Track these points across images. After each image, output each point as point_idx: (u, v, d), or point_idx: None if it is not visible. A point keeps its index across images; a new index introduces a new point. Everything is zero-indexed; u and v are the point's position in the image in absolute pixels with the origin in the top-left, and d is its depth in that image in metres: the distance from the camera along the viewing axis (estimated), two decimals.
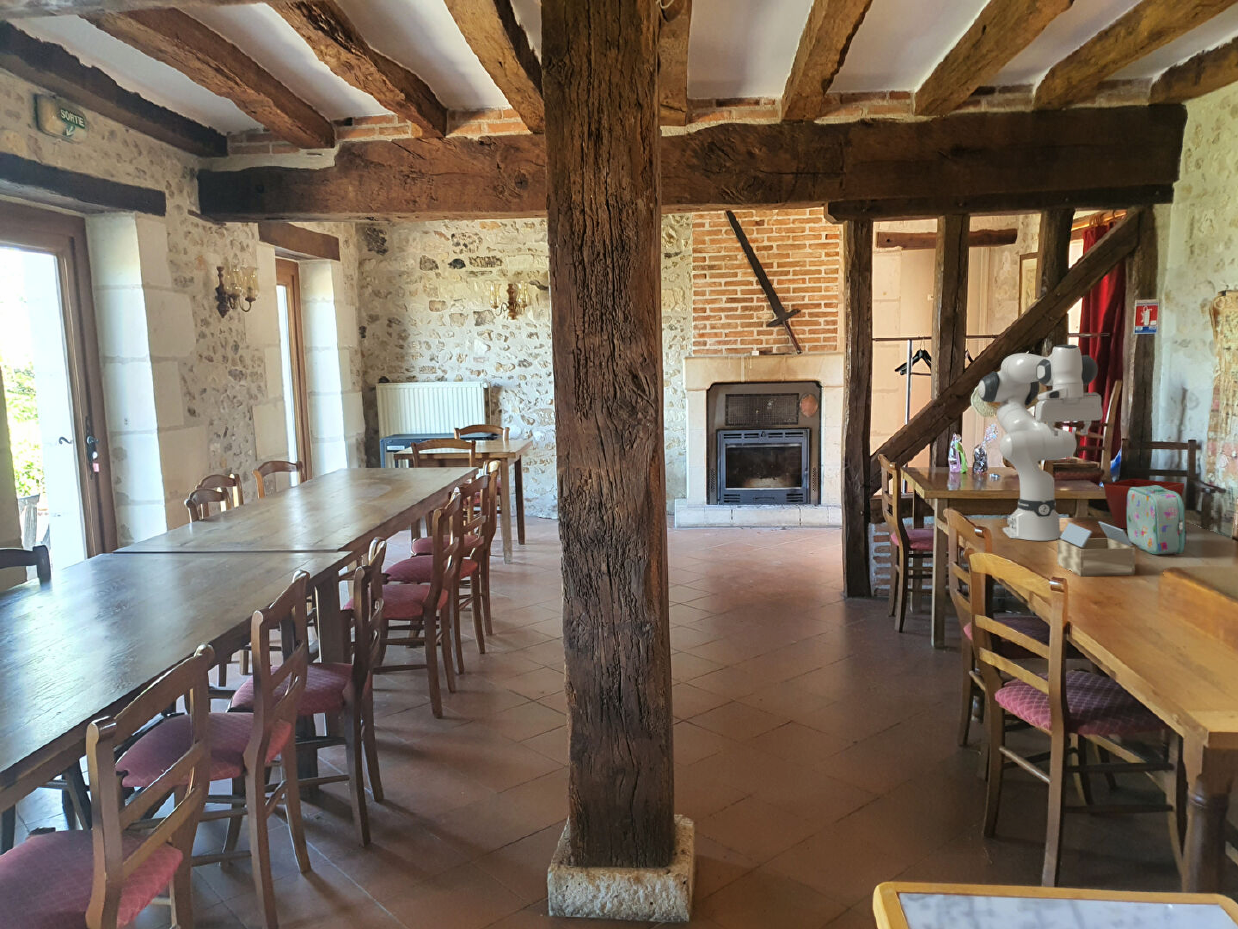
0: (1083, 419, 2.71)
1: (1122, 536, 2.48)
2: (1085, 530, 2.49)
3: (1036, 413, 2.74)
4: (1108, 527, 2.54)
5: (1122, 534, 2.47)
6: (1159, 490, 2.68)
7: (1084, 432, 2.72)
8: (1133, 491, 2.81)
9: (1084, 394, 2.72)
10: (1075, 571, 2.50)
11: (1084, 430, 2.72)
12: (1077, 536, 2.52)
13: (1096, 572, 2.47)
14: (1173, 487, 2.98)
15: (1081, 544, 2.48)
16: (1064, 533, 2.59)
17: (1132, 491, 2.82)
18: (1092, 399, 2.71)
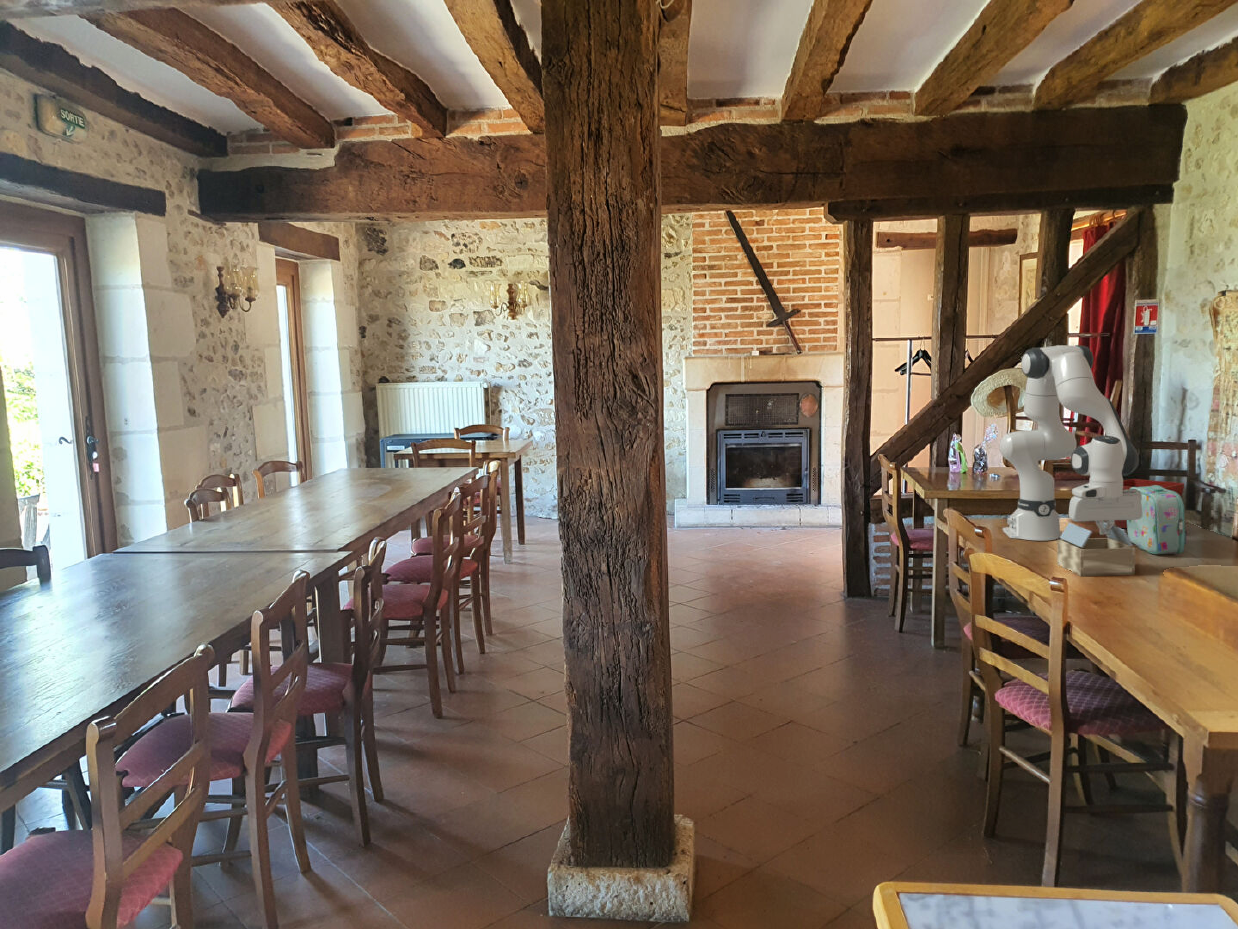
0: (1121, 519, 2.50)
1: (1123, 536, 2.48)
2: (1085, 530, 2.49)
3: (1070, 510, 2.54)
4: None
5: (1123, 534, 2.47)
6: (1159, 490, 2.68)
7: (1106, 532, 2.52)
8: None
9: (1123, 491, 2.50)
10: (1075, 571, 2.50)
11: (1106, 530, 2.52)
12: (1077, 536, 2.52)
13: (1096, 572, 2.47)
14: (1173, 487, 2.98)
15: (1081, 544, 2.48)
16: (1064, 533, 2.59)
17: None
18: (1132, 497, 2.49)
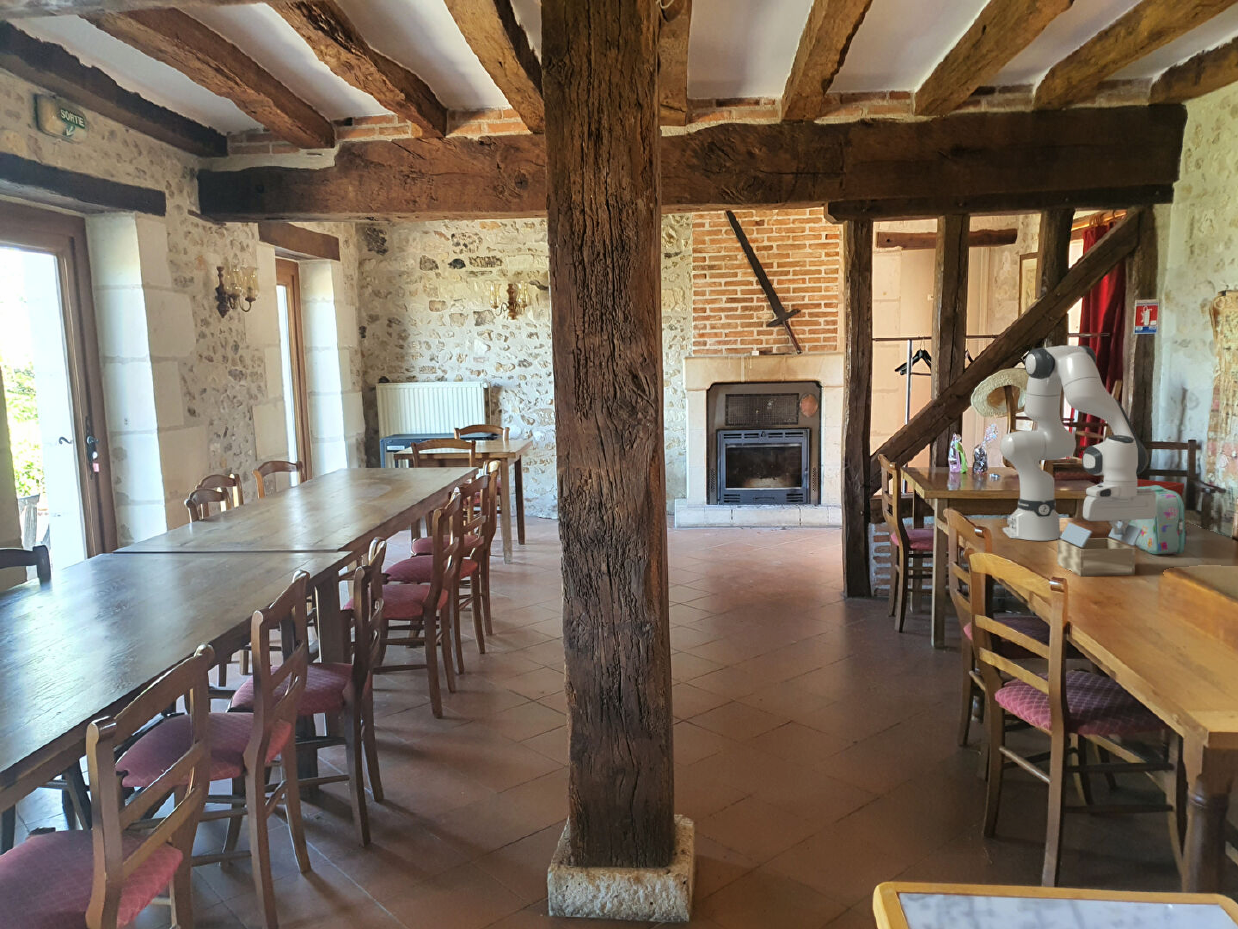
0: (1135, 518, 2.50)
1: (1133, 534, 2.48)
2: (1085, 530, 2.49)
3: (1084, 509, 2.53)
4: None
5: (1136, 532, 2.47)
6: (1159, 490, 2.68)
7: (1121, 532, 2.51)
8: None
9: (1138, 491, 2.50)
10: (1075, 571, 2.50)
11: (1121, 530, 2.51)
12: (1077, 536, 2.52)
13: (1096, 572, 2.47)
14: (1173, 487, 2.98)
15: (1081, 544, 2.48)
16: (1064, 533, 2.59)
17: None
18: (1146, 497, 2.49)
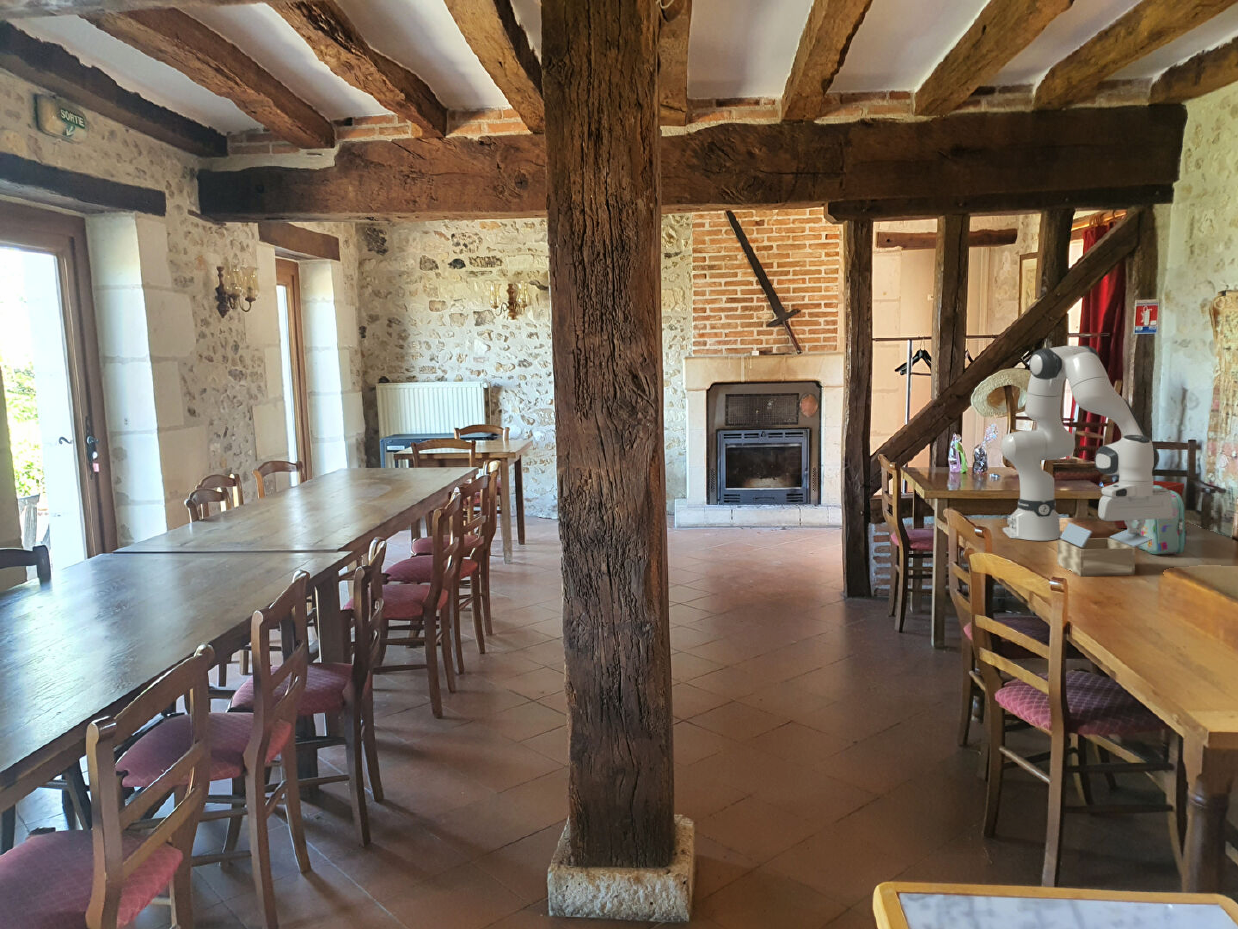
0: (1151, 518, 2.50)
1: (1140, 540, 2.48)
2: (1085, 530, 2.49)
3: (1099, 509, 2.53)
4: (1134, 534, 2.54)
5: (1144, 540, 2.47)
6: None
7: (1137, 532, 2.51)
8: None
9: (1153, 490, 2.50)
10: (1075, 571, 2.50)
11: (1137, 530, 2.51)
12: (1077, 536, 2.52)
13: (1096, 572, 2.47)
14: (1173, 487, 2.98)
15: (1081, 544, 2.48)
16: (1064, 533, 2.59)
17: None
18: (1162, 497, 2.49)
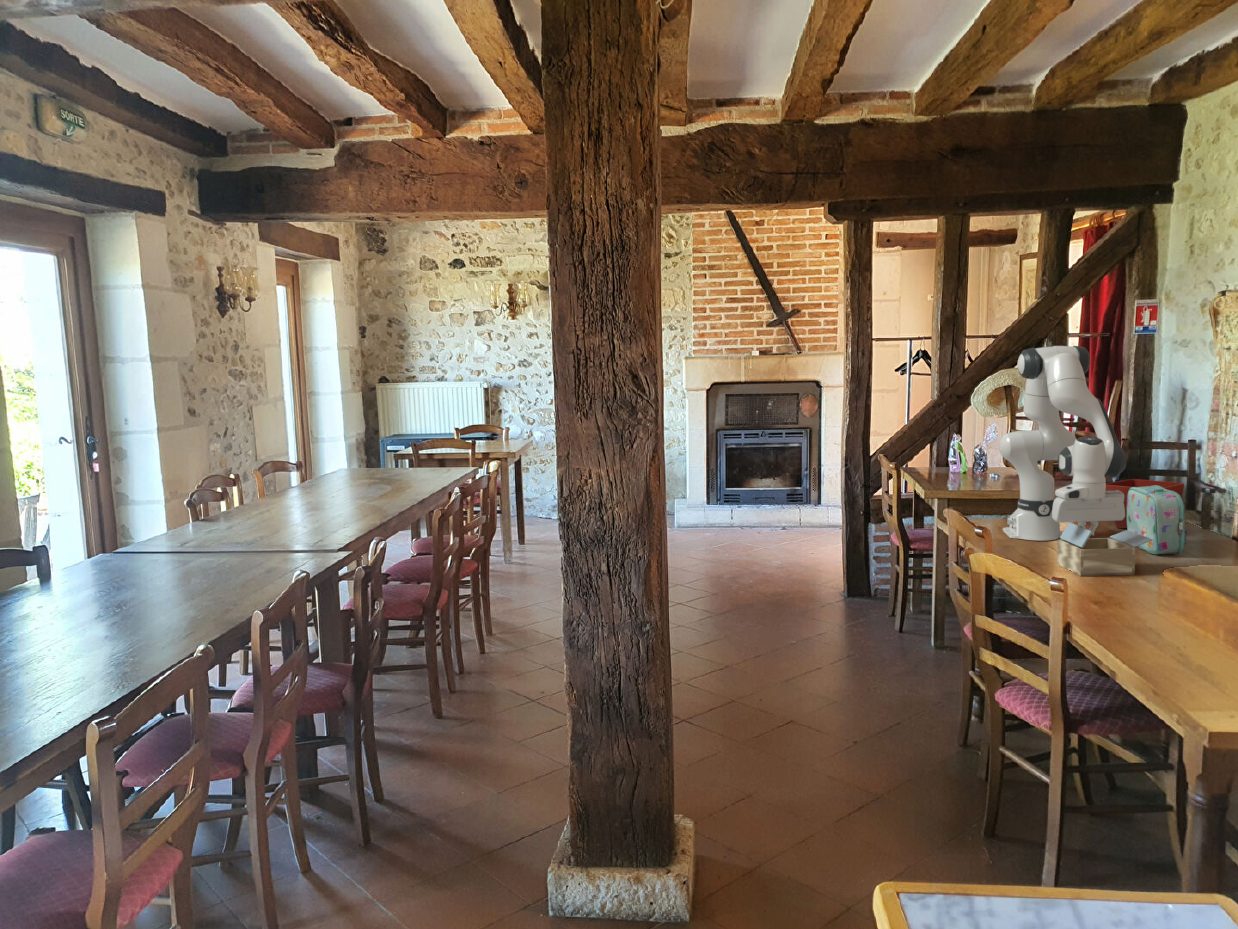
0: (1103, 520, 2.51)
1: (1140, 540, 2.48)
2: (1085, 530, 2.49)
3: (1053, 511, 2.54)
4: (1134, 534, 2.54)
5: (1144, 540, 2.47)
6: (1159, 490, 2.68)
7: None
8: (1133, 491, 2.81)
9: (1106, 492, 2.51)
10: (1075, 571, 2.50)
11: None
12: (1077, 536, 2.52)
13: (1096, 572, 2.47)
14: (1173, 487, 2.98)
15: (1081, 544, 2.48)
16: (1064, 533, 2.59)
17: (1132, 491, 2.82)
18: (1114, 498, 2.50)
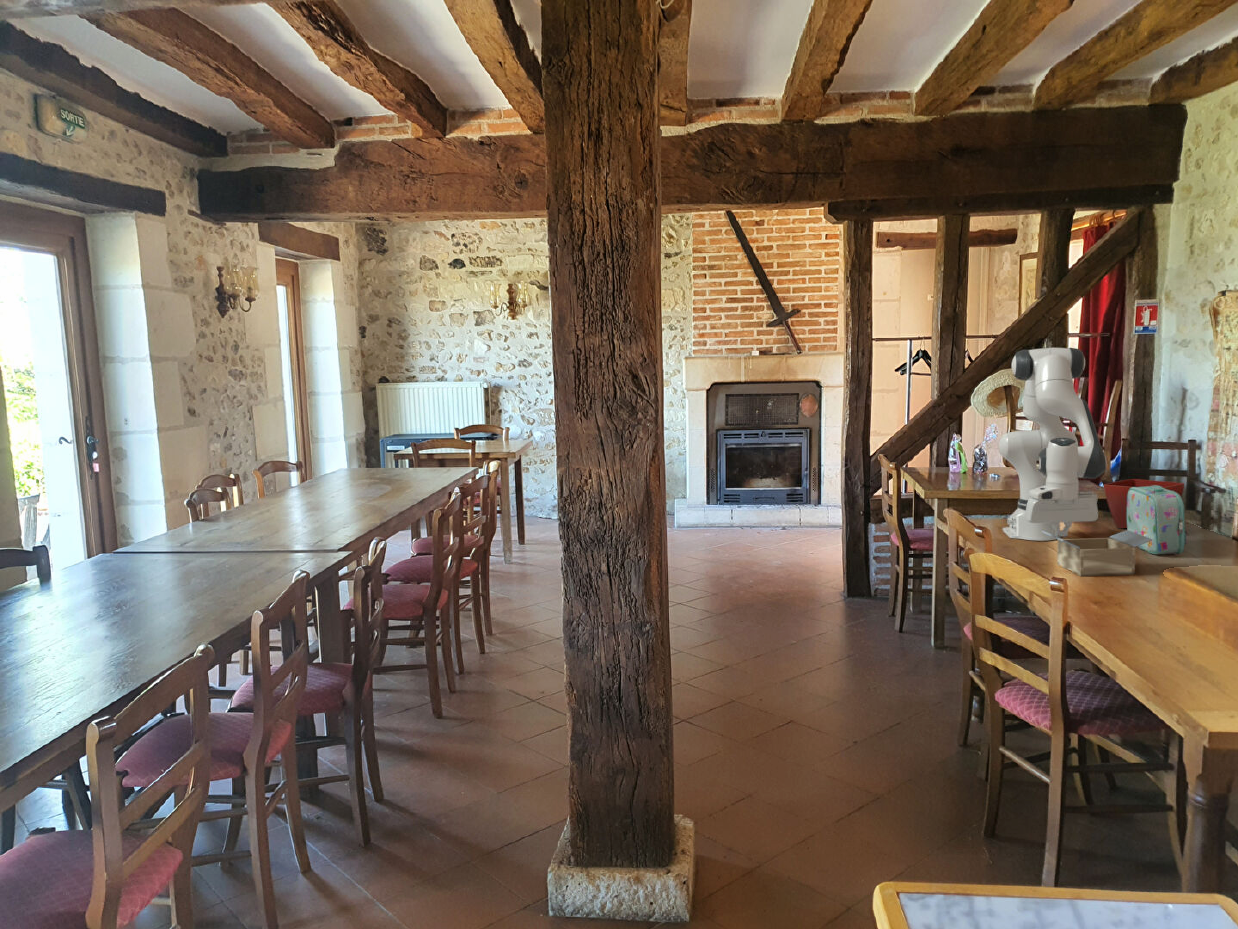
0: (1077, 520, 2.51)
1: (1140, 540, 2.48)
2: (1059, 539, 2.50)
3: (1027, 512, 2.54)
4: (1134, 534, 2.54)
5: (1144, 540, 2.47)
6: (1159, 490, 2.68)
7: (1063, 534, 2.53)
8: (1133, 491, 2.81)
9: (1079, 493, 2.51)
10: (1075, 571, 2.50)
11: (1064, 532, 2.53)
12: None
13: (1096, 572, 2.47)
14: (1173, 487, 2.98)
15: None
16: None
17: (1132, 491, 2.82)
18: (1087, 499, 2.50)
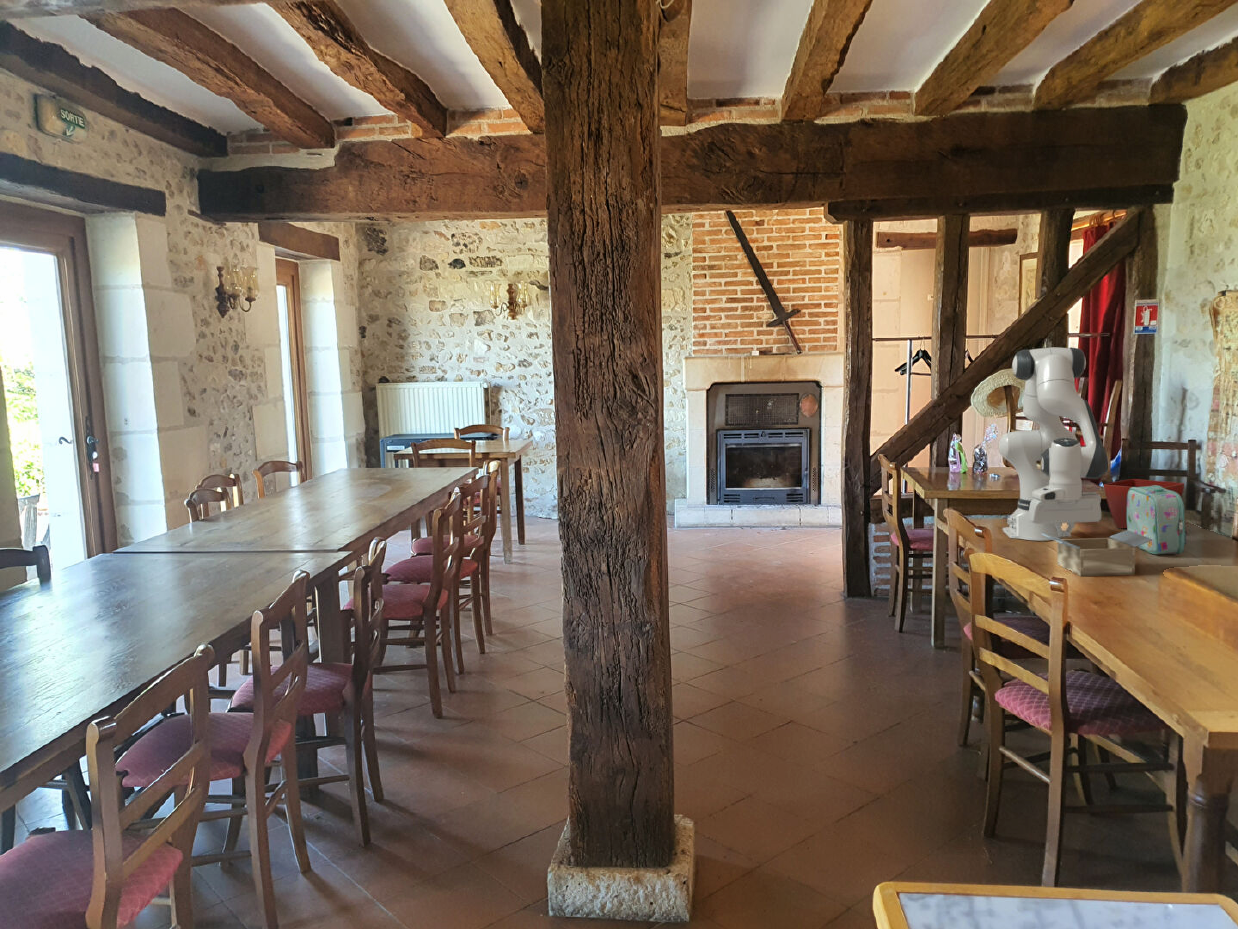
0: (1080, 521, 2.51)
1: (1140, 540, 2.48)
2: None
3: (1029, 512, 2.55)
4: (1134, 534, 2.54)
5: (1144, 540, 2.47)
6: (1159, 490, 2.68)
7: (1067, 535, 2.53)
8: (1133, 491, 2.81)
9: (1082, 493, 2.51)
10: (1075, 571, 2.50)
11: (1067, 532, 2.53)
12: None
13: (1096, 572, 2.47)
14: (1173, 487, 2.98)
15: None
16: None
17: (1132, 491, 2.82)
18: (1091, 500, 2.50)
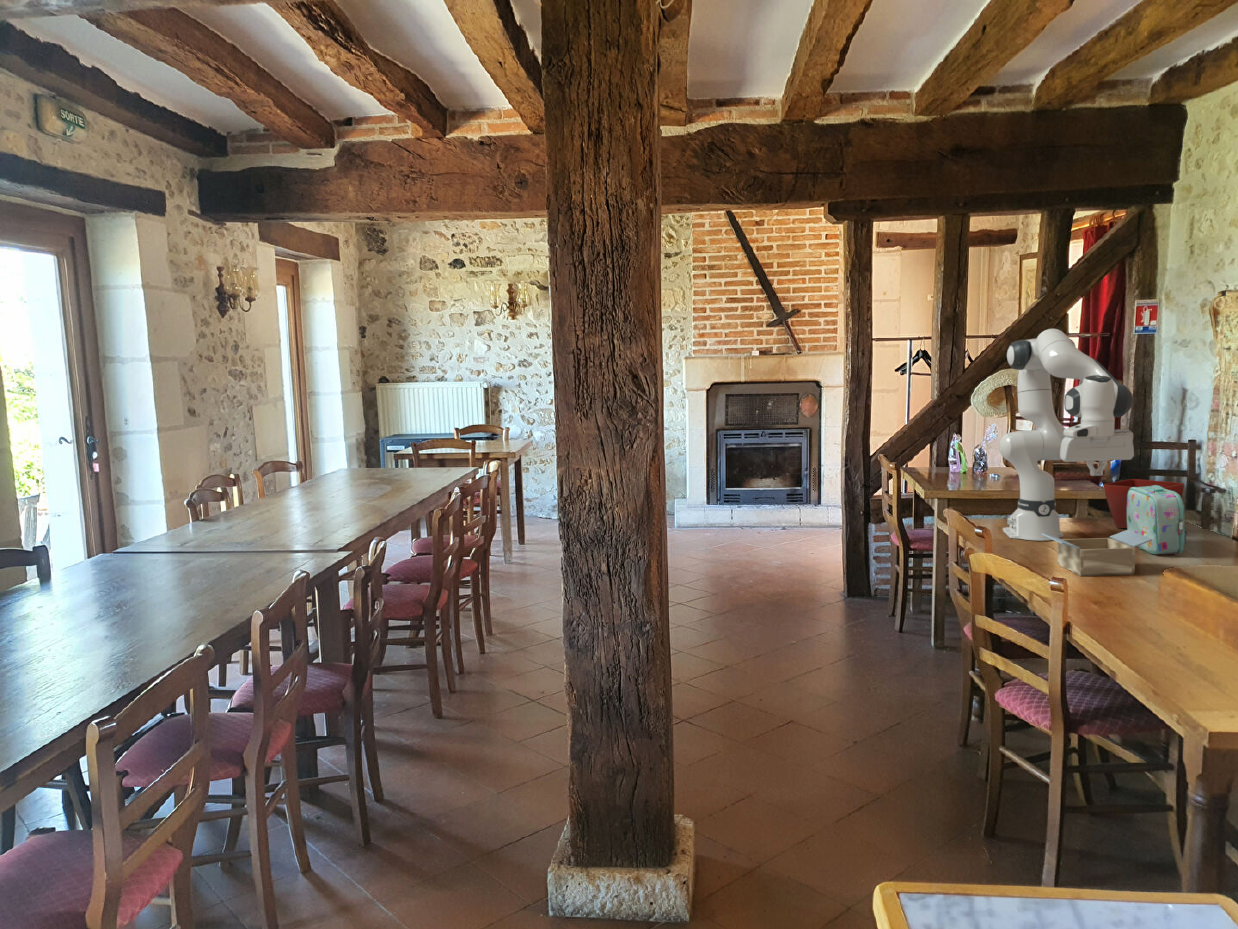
0: (1112, 459, 2.48)
1: (1140, 540, 2.48)
2: None
3: (1061, 451, 2.52)
4: (1134, 534, 2.54)
5: (1144, 540, 2.47)
6: (1159, 490, 2.68)
7: (1099, 473, 2.50)
8: (1133, 491, 2.81)
9: (1115, 431, 2.49)
10: (1075, 571, 2.50)
11: (1099, 471, 2.50)
12: None
13: (1096, 572, 2.47)
14: (1173, 487, 2.98)
15: None
16: None
17: (1132, 491, 2.82)
18: (1123, 437, 2.47)
